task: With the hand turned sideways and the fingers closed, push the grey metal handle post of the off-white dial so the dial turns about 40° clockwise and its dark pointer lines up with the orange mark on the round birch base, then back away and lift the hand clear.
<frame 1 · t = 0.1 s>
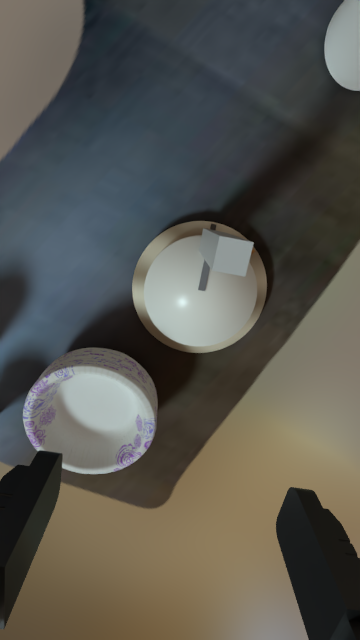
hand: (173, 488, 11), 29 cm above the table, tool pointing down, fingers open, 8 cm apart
paper bowls: (104, 387, 43), on the table
dial base: (198, 288, 38), on the table
dial: (206, 305, 30), point 9 cm above the table, hinge at 0.0°
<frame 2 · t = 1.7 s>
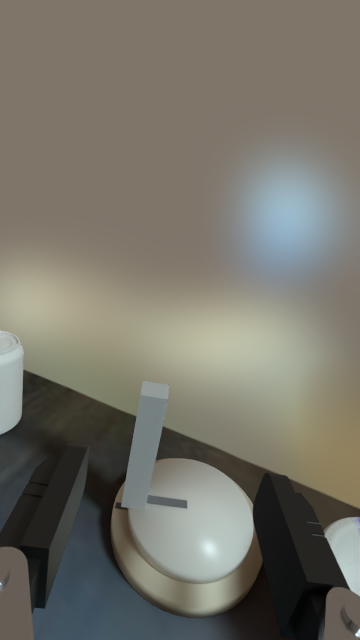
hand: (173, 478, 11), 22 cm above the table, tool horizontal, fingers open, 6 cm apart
dial base: (186, 525, 33), on the table
dial: (200, 461, 31), point 9 cm above the table, hinge at 0.0°
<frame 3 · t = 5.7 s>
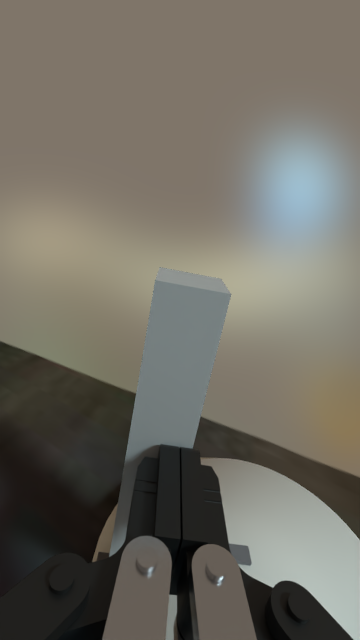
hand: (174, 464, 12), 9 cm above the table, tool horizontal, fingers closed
dial base: (243, 596, 16), on the table
dial: (287, 463, 13), point 9 cm above the table, hinge at -0.6°, touching gripper
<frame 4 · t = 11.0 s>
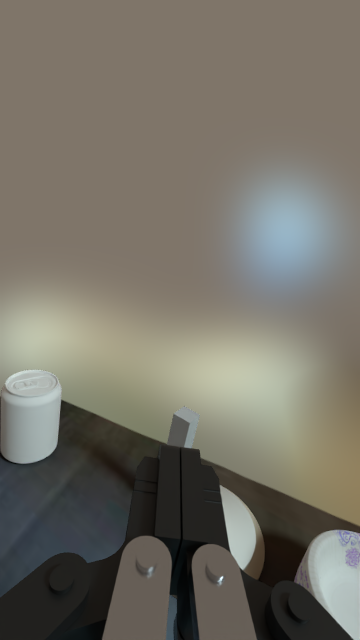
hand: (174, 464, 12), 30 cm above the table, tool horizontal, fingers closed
beverage can: (29, 448, 50), on the table
dial base: (200, 536, 41), on the table
dial: (213, 484, 38), point 9 cm above the table, hinge at -34.4°
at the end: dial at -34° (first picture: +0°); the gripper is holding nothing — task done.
